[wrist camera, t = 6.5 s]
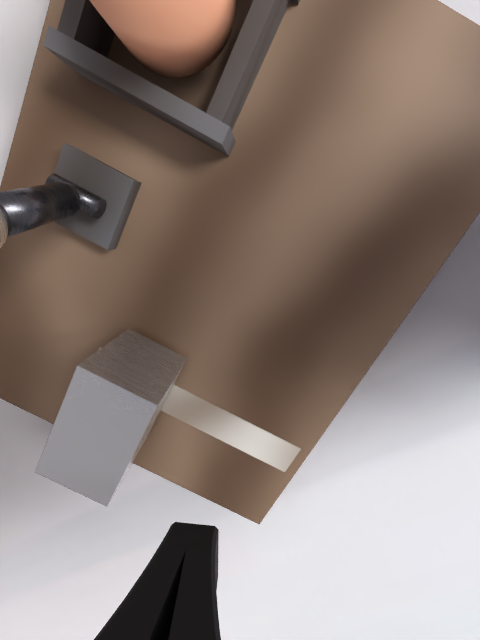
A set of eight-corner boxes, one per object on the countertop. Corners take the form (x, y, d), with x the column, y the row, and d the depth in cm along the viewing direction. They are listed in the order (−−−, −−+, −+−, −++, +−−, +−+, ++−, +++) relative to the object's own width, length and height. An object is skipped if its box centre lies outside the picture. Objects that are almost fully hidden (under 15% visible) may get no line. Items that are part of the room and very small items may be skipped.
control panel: (537, 97, 13) (633, 51, 9) (259, 502, 19) (257, 560, 16) (124, -149, 12) (67, -298, 9) (-25, 362, 18) (-91, 392, 15)
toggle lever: (110, 185, 12) (-31, 218, 7) (101, 227, 13) (-31, 283, 8) (62, 159, 12) (-115, 175, 7) (56, 204, 13) (-105, 246, 8)
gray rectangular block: (187, 358, 15) (157, 405, 11) (146, 438, 17) (106, 506, 13) (128, 328, 15) (77, 365, 11) (92, 412, 16) (34, 472, 12)
